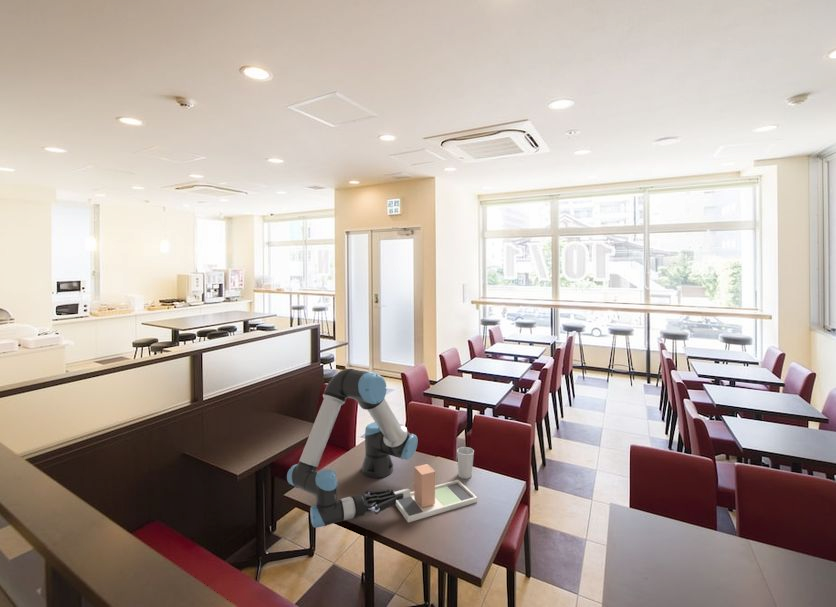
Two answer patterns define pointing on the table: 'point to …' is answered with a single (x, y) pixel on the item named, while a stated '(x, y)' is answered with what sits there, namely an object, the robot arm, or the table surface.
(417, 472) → the block
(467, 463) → the cup
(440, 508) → the sorting tray
